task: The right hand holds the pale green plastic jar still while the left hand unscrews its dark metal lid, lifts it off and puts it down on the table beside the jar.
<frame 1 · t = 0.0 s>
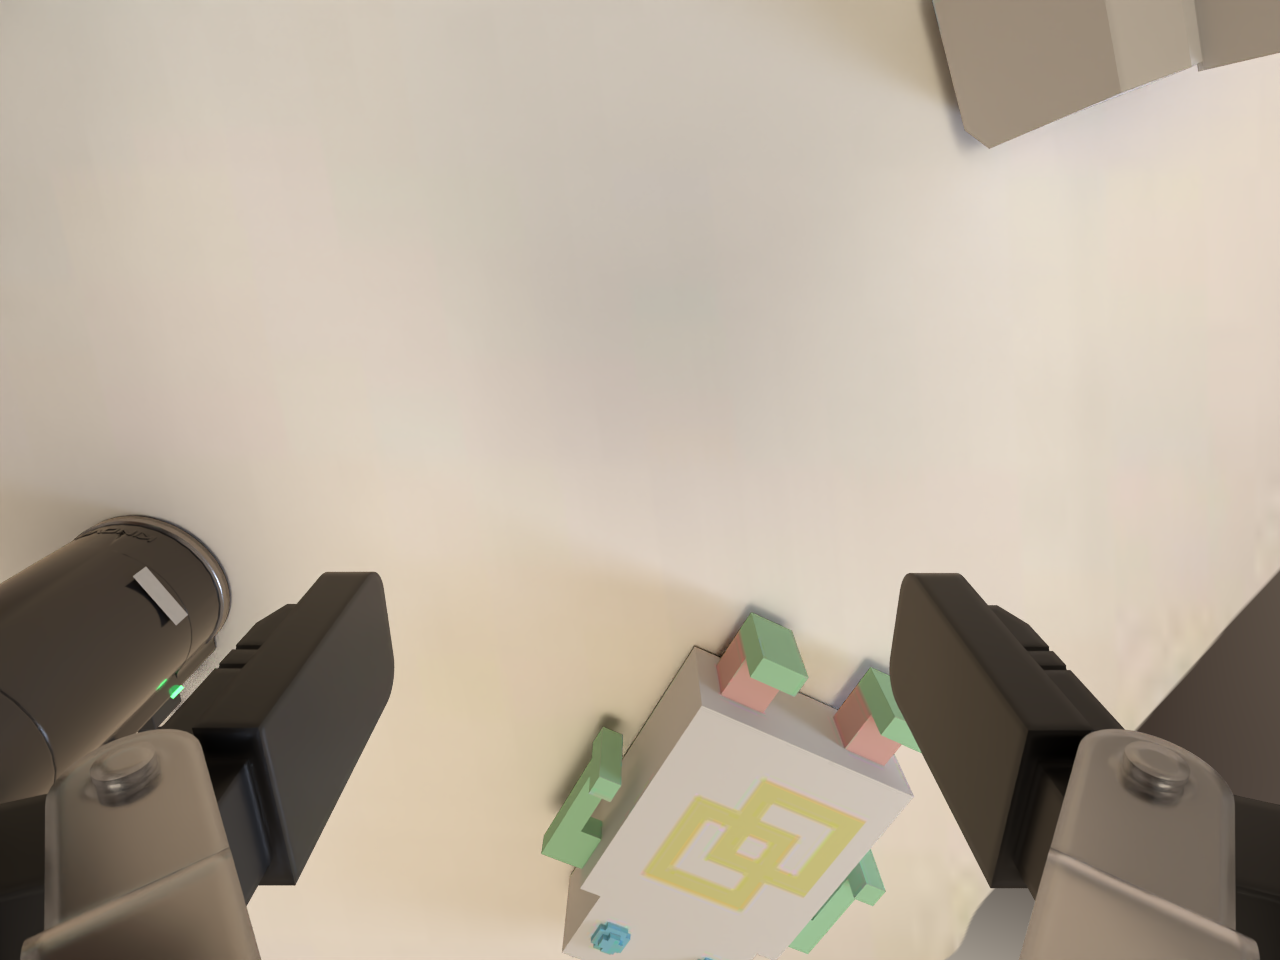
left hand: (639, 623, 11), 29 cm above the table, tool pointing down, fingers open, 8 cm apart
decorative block: (725, 779, 50), on the table
electronic device: (1069, 17, 34), on the table
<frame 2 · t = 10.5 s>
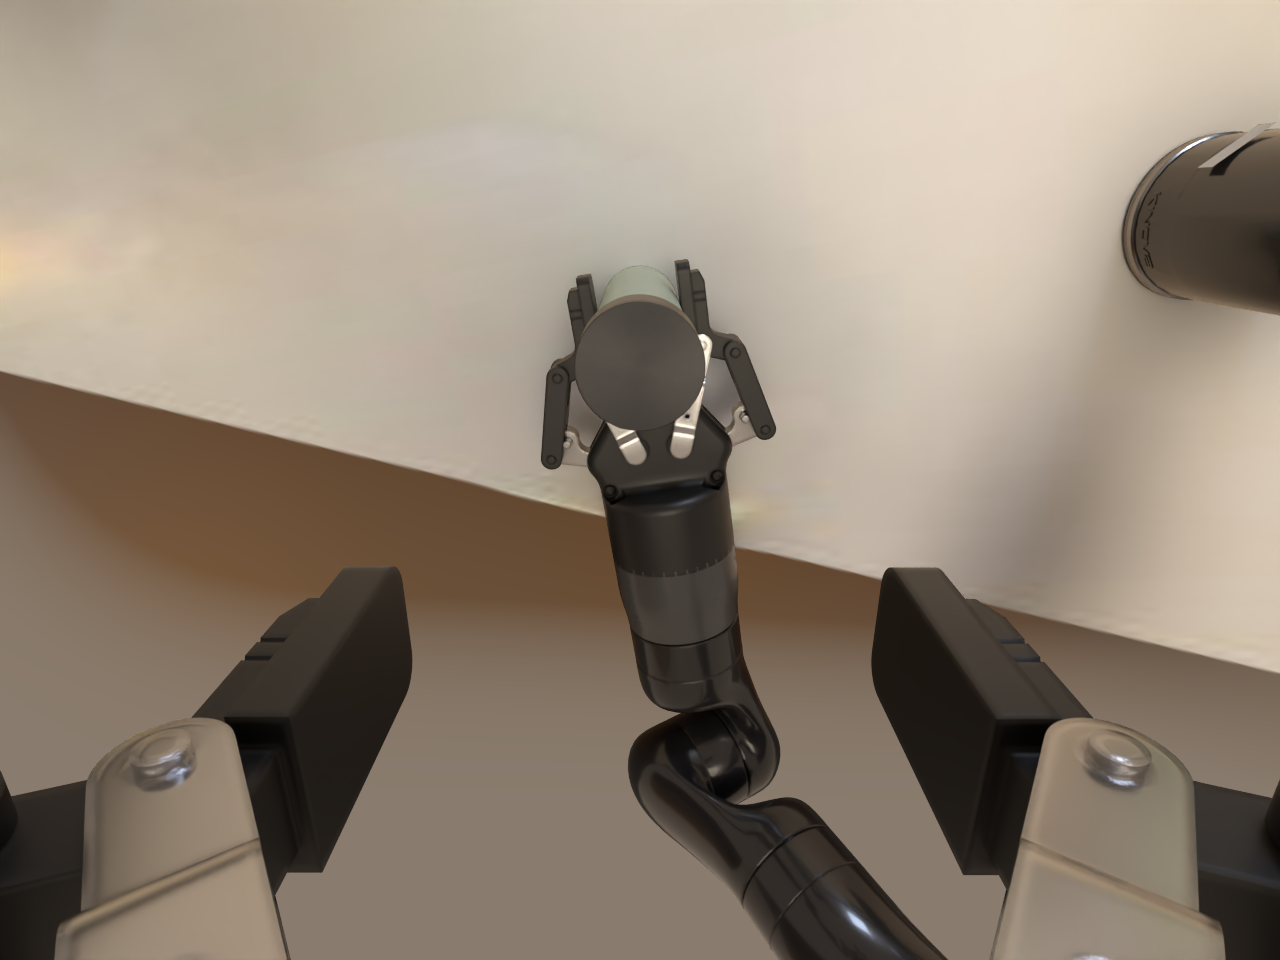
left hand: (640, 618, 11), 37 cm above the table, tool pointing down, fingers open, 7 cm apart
right hand: (632, 270, 39), fingers closed on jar, 4 cm apart
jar: (639, 303, 46), on the table, touching right hand
lid: (639, 366, 29), point 18 cm above the table, screwed on, not yet turned
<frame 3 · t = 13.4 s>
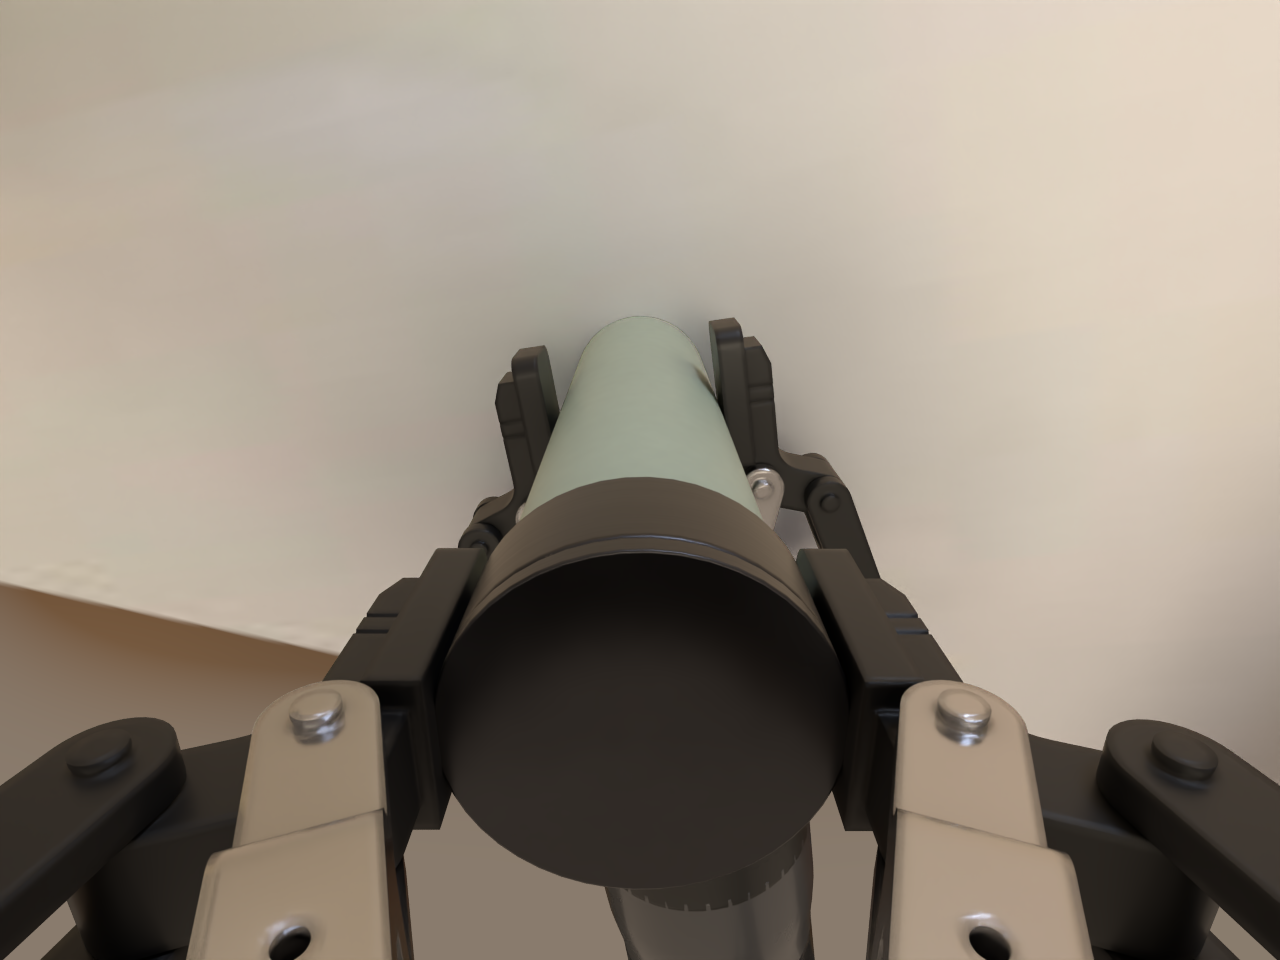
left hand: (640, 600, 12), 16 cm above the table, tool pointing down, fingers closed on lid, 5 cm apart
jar: (640, 380, 26), on the table, touching right hand
lid: (641, 719, 9), point 18 cm above the table, screwed on, not yet turned, touching left hand
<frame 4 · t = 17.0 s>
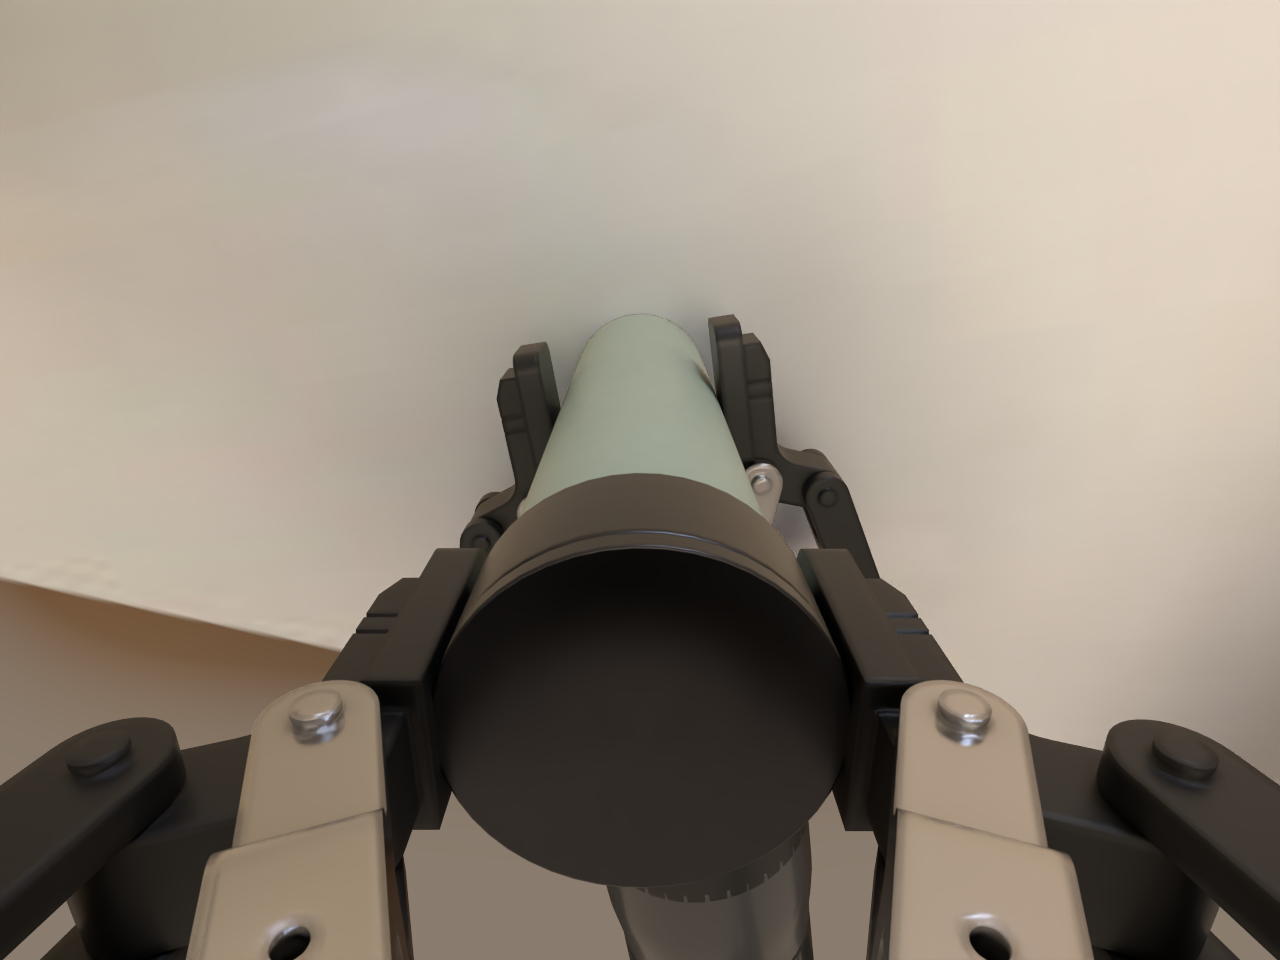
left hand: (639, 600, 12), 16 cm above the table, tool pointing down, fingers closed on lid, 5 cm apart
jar: (640, 377, 27), on the table, touching right hand
lid: (641, 716, 9), point 19 cm above the table, turned 87° so far, risen 0.3 cm, still on its thread, touching left hand
when the left hand's fingers open (0 cm above the table, at t = 24.8 s): lid drops 1 cm, point 2 cm above the table.
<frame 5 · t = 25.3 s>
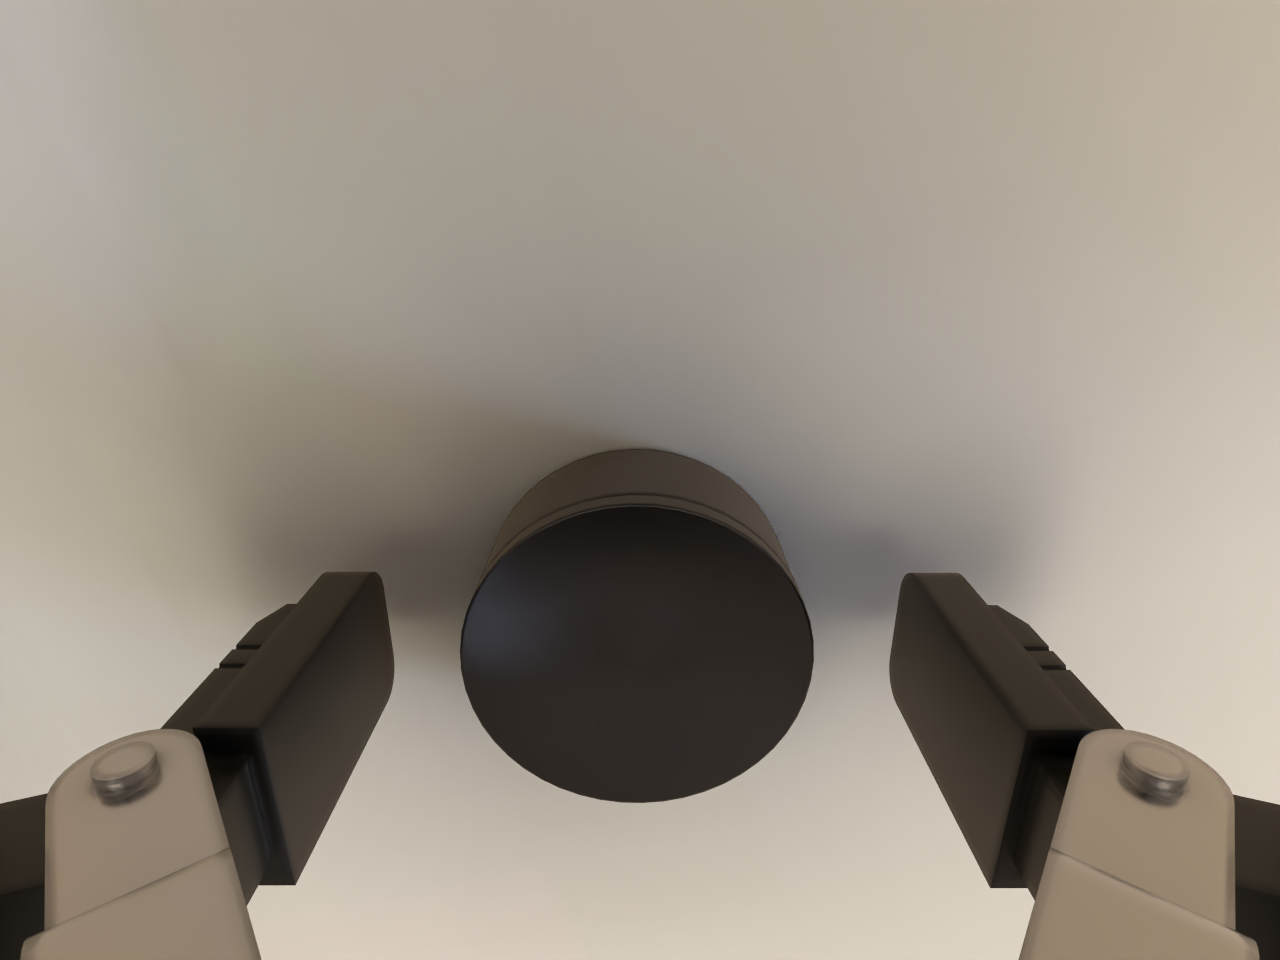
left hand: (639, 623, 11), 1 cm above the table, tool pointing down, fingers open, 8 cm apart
lid: (637, 652, 11), point 2 cm above the table, off its thread
when the right hand's fingers open (7 cm above the table, at t = 25.8 s): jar stays where it is, on the table.
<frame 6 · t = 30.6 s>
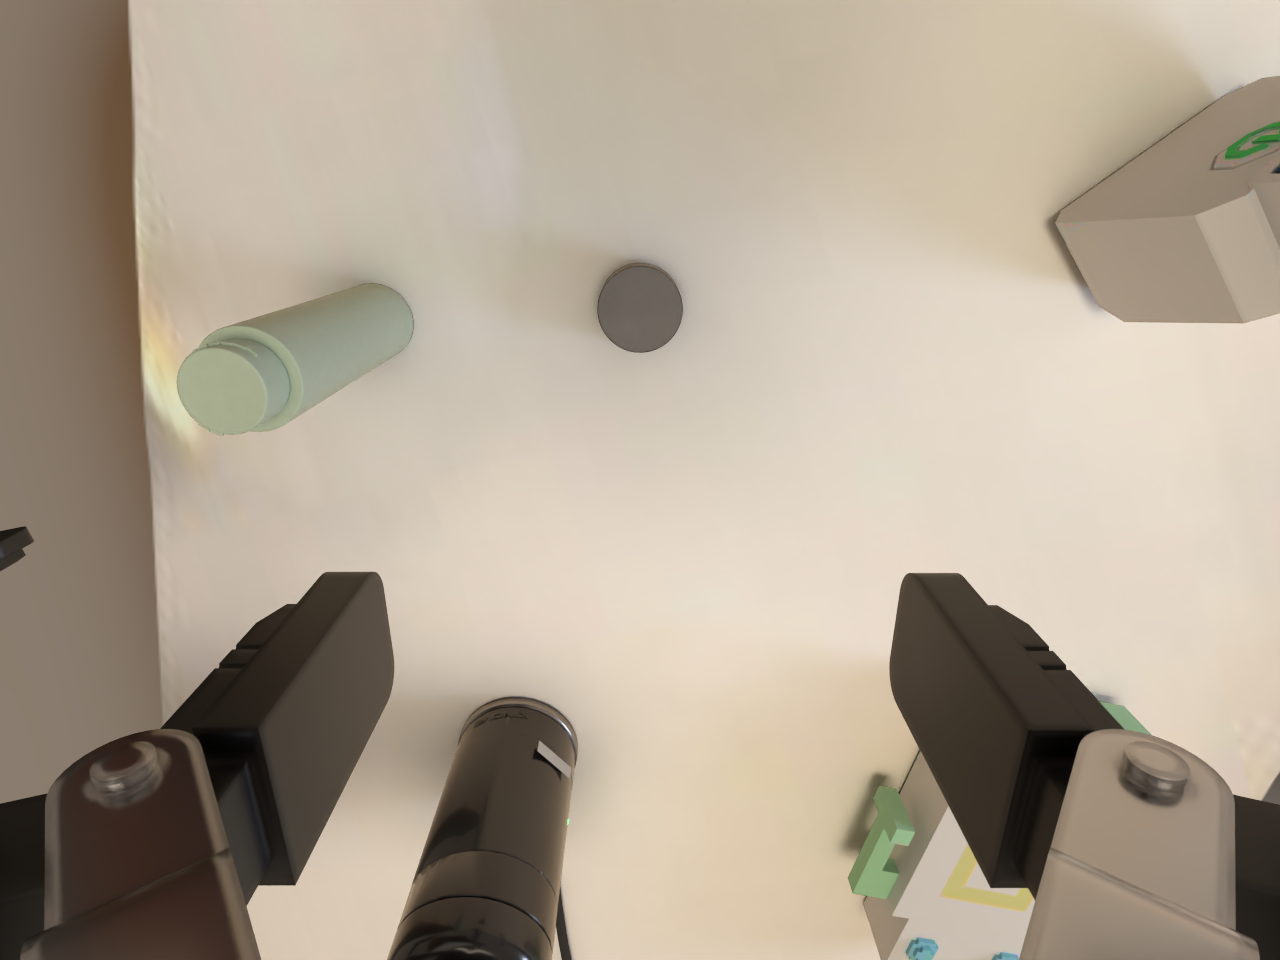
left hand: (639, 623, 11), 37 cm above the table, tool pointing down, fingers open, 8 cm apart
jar: (377, 321, 46), on the table
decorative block: (980, 805, 61), on the table
lid: (640, 309, 44), point 2 cm above the table, off its thread
electronic device: (1162, 204, 44), on the table
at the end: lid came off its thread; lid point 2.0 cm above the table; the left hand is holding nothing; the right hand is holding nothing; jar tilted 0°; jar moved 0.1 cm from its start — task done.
